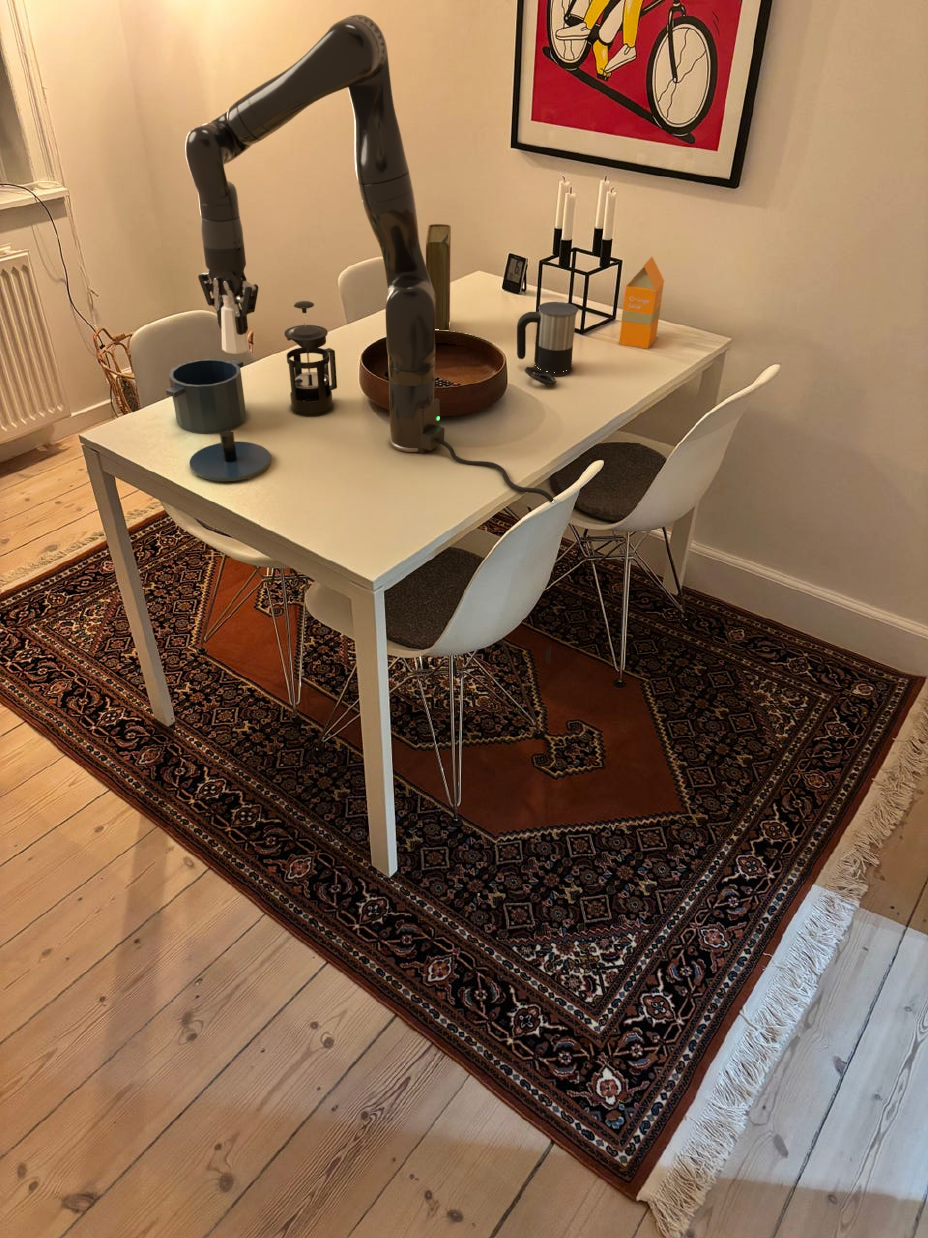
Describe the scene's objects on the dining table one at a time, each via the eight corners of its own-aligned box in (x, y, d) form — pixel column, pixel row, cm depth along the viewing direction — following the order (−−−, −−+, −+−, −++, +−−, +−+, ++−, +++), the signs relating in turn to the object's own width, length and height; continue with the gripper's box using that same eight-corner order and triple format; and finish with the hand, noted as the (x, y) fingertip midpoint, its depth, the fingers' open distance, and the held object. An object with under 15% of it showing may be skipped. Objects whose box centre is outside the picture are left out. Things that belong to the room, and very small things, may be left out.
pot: (268, 410, 210) (263, 364, 204) (203, 444, 197) (195, 396, 191) (220, 394, 216) (213, 350, 210) (153, 426, 203) (144, 379, 197)
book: (429, 322, 255) (428, 223, 240) (449, 323, 255) (450, 224, 240) (426, 345, 242) (425, 242, 227) (448, 346, 242) (449, 243, 227)
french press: (304, 421, 206) (294, 314, 192) (279, 407, 212) (268, 302, 198) (348, 406, 213) (342, 302, 199) (323, 392, 218) (315, 290, 204)
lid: (287, 459, 192) (284, 428, 188) (232, 491, 181) (227, 459, 177) (229, 439, 199) (225, 409, 195) (173, 469, 188) (167, 438, 184)
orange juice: (618, 343, 245) (627, 263, 233) (627, 332, 252) (637, 253, 240) (648, 348, 243) (659, 267, 231) (656, 337, 249) (668, 257, 237)
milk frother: (565, 360, 236) (569, 299, 227) (588, 385, 224) (595, 322, 215) (509, 365, 233) (512, 304, 224) (530, 391, 221) (534, 327, 212)
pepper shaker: (221, 344, 195) (214, 289, 189) (248, 343, 196) (242, 288, 190) (222, 354, 191) (215, 299, 184) (250, 352, 192) (244, 297, 185)
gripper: (181, 239, 182) (193, 328, 192) (237, 252, 176) (247, 344, 186) (209, 230, 187) (220, 318, 197) (265, 243, 181) (273, 333, 191)
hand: (233, 330), depth 191 cm, fingers closed on pepper shaker, 4 cm apart
